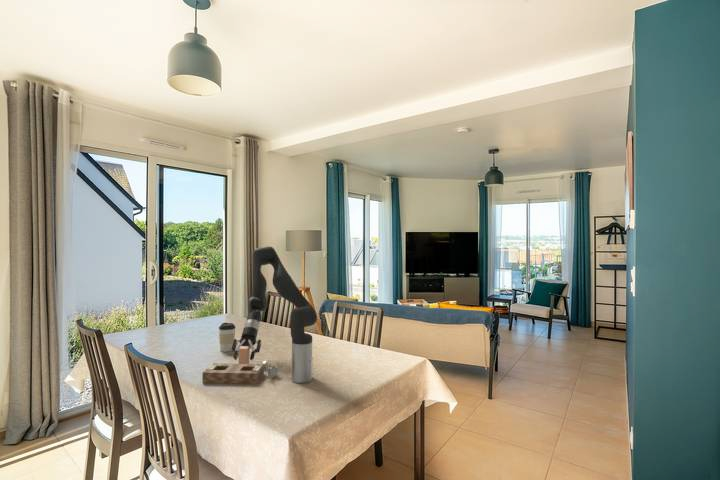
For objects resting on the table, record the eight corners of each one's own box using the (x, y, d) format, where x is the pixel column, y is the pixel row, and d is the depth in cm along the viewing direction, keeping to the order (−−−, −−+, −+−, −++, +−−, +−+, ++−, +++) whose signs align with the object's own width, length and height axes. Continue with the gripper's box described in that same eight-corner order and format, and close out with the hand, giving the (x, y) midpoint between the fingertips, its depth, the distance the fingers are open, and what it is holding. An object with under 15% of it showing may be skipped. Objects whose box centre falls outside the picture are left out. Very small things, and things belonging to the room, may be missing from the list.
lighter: (275, 374, 174) (276, 357, 174) (277, 375, 172) (278, 358, 172) (262, 378, 169) (262, 361, 169) (263, 379, 168) (264, 362, 168)
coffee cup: (238, 349, 211) (238, 323, 211) (223, 353, 205) (223, 326, 205) (230, 346, 217) (230, 321, 217) (215, 349, 211) (215, 323, 211)
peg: (249, 366, 185) (249, 346, 185) (246, 369, 181) (247, 348, 181) (241, 366, 185) (241, 346, 185) (238, 368, 181) (239, 348, 181)
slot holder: (263, 373, 175) (263, 363, 175) (256, 383, 163) (256, 372, 163) (213, 372, 175) (213, 362, 175) (202, 382, 163) (202, 371, 163)
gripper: (235, 325, 190) (226, 355, 179) (263, 326, 190) (256, 356, 179) (238, 333, 196) (230, 362, 184) (265, 334, 196) (259, 363, 184)
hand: (243, 359), depth 181 cm, fingers open, 7 cm apart
